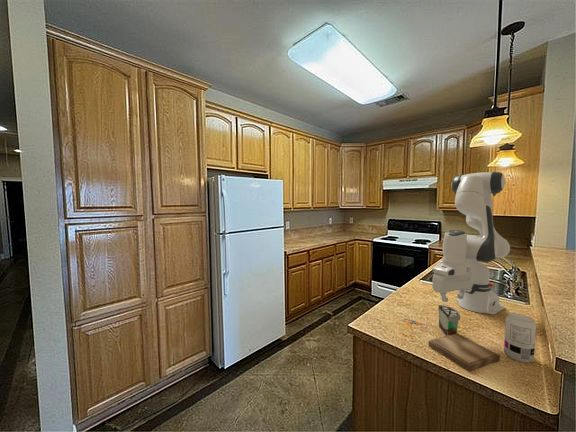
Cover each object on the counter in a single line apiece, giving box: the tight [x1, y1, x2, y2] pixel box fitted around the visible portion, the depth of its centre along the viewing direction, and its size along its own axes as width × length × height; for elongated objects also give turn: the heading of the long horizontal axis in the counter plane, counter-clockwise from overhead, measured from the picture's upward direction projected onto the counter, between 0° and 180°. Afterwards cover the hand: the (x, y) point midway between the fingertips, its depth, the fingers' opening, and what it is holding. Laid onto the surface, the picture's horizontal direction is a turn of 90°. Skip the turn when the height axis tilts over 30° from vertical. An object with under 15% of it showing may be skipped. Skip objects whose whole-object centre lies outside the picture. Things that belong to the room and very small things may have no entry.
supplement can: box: [503, 312, 537, 364], centre depth 92 cm, size 8×8×15 cm
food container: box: [437, 304, 461, 336], centre depth 109 cm, size 12×6×10 cm, turn 167°
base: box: [428, 332, 501, 372], centre depth 95 cm, size 16×16×2 cm
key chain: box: [402, 318, 430, 333], centre depth 116 cm, size 13×7×1 cm, turn 46°
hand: (452, 300), depth 107 cm, fingers open, 8 cm apart
